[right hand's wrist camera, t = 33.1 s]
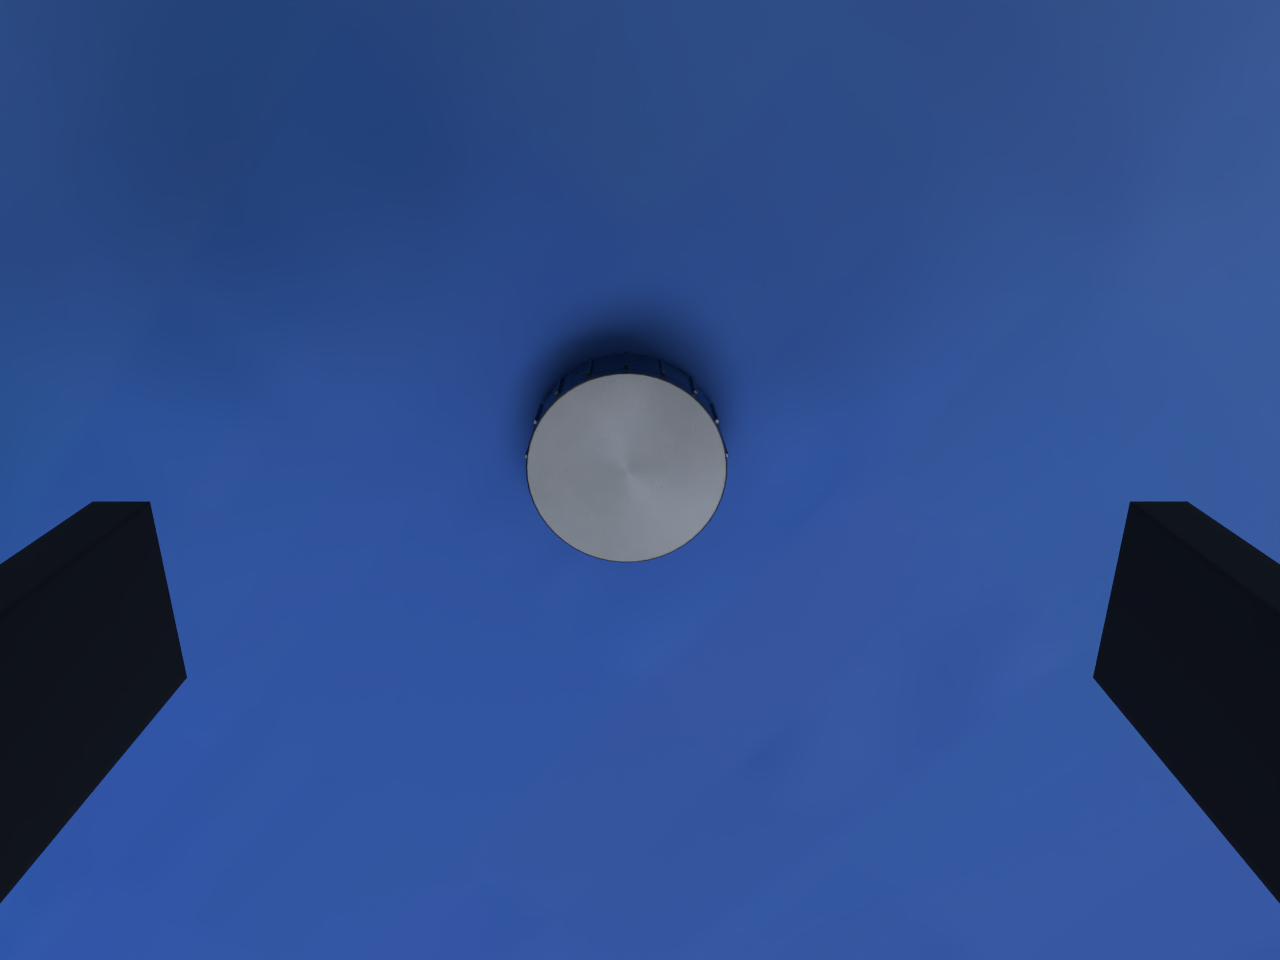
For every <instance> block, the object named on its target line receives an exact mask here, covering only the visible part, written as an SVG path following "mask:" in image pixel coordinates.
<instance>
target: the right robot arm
mask: <svg viewBox="0 0 1280 960" xmlns="http://www.w3.org/2000/svg"><path fill="white" fill-rule="evenodd" d="M186 678H187V676H186V671H185V666H184V661H183V657H182V652H181V647H180V642H179V638H178V633H177V628H176V623H175V619H174V614H173V609H172V604H171V600H170V595H169V590H168V585H167V581H166V576H165V571H164V566H163V562H162V557H161V552H160V547H159V543H158V538H157V533H156V528H155V524H154V519H153V514H152V509H151V505H150V502H91V503H90V504H88V505H87V506H85V507H84V508H83V509H81V510H80V511H78V512H77V513H75V514H74V515H72V516H71V517H69V518H68V519H66V520H65V521H63V522H62V523H60V524H59V525H58V526H56V527H55V528H53V529H52V530H50V531H49V532H47V533H46V534H44V535H43V536H41V537H40V538H38V539H37V540H35V541H34V542H33V543H31V544H30V545H28V546H27V547H25V548H24V549H22V550H21V551H19V552H18V553H16V554H15V555H13V556H12V557H10V558H9V559H8V560H6V561H5V562H3V563H2V564H0V903H1V902H2V901H3V899H4V898H5V897H6V896H7V895H8V893H9V892H10V891H11V890H12V889H13V887H14V886H15V885H16V884H17V882H18V881H19V880H20V879H21V878H22V876H23V875H24V874H25V873H26V872H27V870H28V869H29V868H30V867H31V866H32V864H33V863H34V862H35V861H36V859H37V858H38V857H39V856H40V855H41V853H42V852H43V851H44V850H45V849H46V847H47V846H48V845H49V844H50V843H51V841H52V840H53V839H54V838H55V837H56V835H57V834H58V833H59V832H60V830H61V829H62V828H63V827H64V826H65V824H66V823H67V822H68V821H69V820H70V818H71V817H72V816H73V815H74V814H75V812H76V811H77V810H78V809H79V807H80V806H81V805H82V804H83V803H84V801H85V800H86V799H87V798H88V797H89V795H90V794H91V793H92V792H93V791H94V789H95V788H96V787H97V786H98V785H99V783H100V782H101V781H102V780H103V778H104V777H105V776H106V775H107V774H108V772H109V771H110V770H111V769H112V768H113V766H114V765H115V764H116V763H117V762H118V760H119V759H120V758H121V757H122V755H123V754H124V753H125V752H126V751H127V749H128V748H129V747H130V746H131V745H132V743H133V742H134V741H135V740H136V739H137V737H138V736H139V735H140V734H141V732H142V731H143V730H144V729H145V728H146V726H147V725H148V724H149V723H150V722H151V720H152V719H153V718H154V717H155V716H156V714H157V713H158V712H159V711H160V710H161V708H162V707H163V706H164V705H165V703H166V702H167V701H168V700H169V699H170V697H171V696H172V695H173V694H174V693H175V691H176V690H177V689H178V688H179V687H180V685H181V684H182V683H183V682H184V680H185V679H186ZM1093 678H1094V679H1095V680H1096V682H1097V683H1098V684H1099V685H1100V687H1101V688H1102V689H1103V690H1104V691H1105V693H1106V694H1107V695H1108V696H1109V697H1110V699H1111V700H1112V701H1113V702H1114V703H1115V705H1116V706H1117V707H1118V708H1119V710H1120V711H1121V712H1122V713H1123V714H1124V716H1125V717H1126V718H1127V719H1128V720H1129V722H1130V723H1131V724H1132V725H1133V726H1134V728H1135V729H1136V730H1137V731H1138V732H1139V734H1140V735H1141V736H1142V737H1143V739H1144V740H1145V741H1146V742H1147V743H1148V745H1149V746H1150V747H1151V748H1152V749H1153V751H1154V752H1155V753H1156V754H1157V755H1158V757H1159V758H1160V759H1161V760H1162V762H1163V763H1164V764H1165V765H1166V766H1167V768H1168V769H1169V770H1170V771H1171V772H1172V774H1173V775H1174V776H1175V777H1176V778H1177V780H1178V781H1179V782H1180V783H1181V785H1182V786H1183V787H1184V788H1185V789H1186V791H1187V792H1188V793H1189V794H1190V795H1191V797H1192V798H1193V799H1194V800H1195V801H1196V803H1197V804H1198V805H1199V806H1200V807H1201V809H1202V810H1203V811H1204V812H1205V814H1206V815H1207V816H1208V817H1209V818H1210V820H1211V821H1212V822H1213V823H1214V824H1215V826H1216V827H1217V828H1218V829H1219V830H1220V832H1221V833H1222V834H1223V835H1224V837H1225V838H1226V839H1227V840H1228V841H1229V843H1230V844H1231V845H1232V846H1233V847H1234V849H1235V850H1236V851H1237V852H1238V853H1239V855H1240V856H1241V857H1242V858H1243V859H1244V861H1245V862H1246V863H1247V864H1248V866H1249V867H1250V868H1251V869H1252V870H1253V872H1254V873H1255V874H1256V875H1257V876H1258V878H1259V879H1260V880H1261V881H1262V882H1263V884H1264V885H1265V886H1266V887H1267V889H1268V890H1269V891H1270V892H1271V893H1272V895H1273V896H1274V897H1275V898H1276V899H1277V901H1278V902H1279V903H1280V564H1278V563H1277V562H1275V561H1274V560H1272V559H1271V558H1270V557H1268V556H1267V555H1265V554H1264V553H1262V552H1261V551H1259V550H1258V549H1256V548H1255V547H1253V546H1252V545H1250V544H1249V543H1247V542H1246V541H1245V540H1243V539H1242V538H1240V537H1239V536H1237V535H1236V534H1234V533H1233V532H1231V531H1230V530H1228V529H1227V528H1225V527H1224V526H1222V525H1221V524H1220V523H1218V522H1217V521H1215V520H1214V519H1212V518H1211V517H1209V516H1208V515H1206V514H1205V513H1203V512H1202V511H1200V510H1199V509H1197V508H1196V507H1195V506H1193V505H1192V504H1190V503H1189V502H1130V505H1129V509H1128V514H1127V519H1126V524H1125V528H1124V533H1123V538H1122V543H1121V547H1120V552H1119V557H1118V562H1117V566H1116V571H1115V576H1114V581H1113V585H1112V590H1111V595H1110V600H1109V604H1108V609H1107V614H1106V619H1105V623H1104V628H1103V633H1102V638H1101V642H1100V647H1099V652H1098V657H1097V661H1096V666H1095V671H1094V676H1093Z"/></svg>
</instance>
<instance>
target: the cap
mask: <svg viewBox="0 0 1280 960" xmlns="http://www.w3.org/2000/svg"><path fill="white" fill-rule="evenodd" d="M533 423H534V424H536V425H535V428H534V430H533V433H532V436H531V439H530V442H529V446H528V449H527V451H526V454H525V458H526V476H527V483H528V488H529V492H530V495H531V498H532V500H533V503H534V505H535V507H536V509H537V511H538V513H539V515H540V516H541V518H542V519H543V520H544V522H545V523H546V525H547V526H548V527H549V528H550V529H551V530H552V531H553V532H554V533H555V534H556V535H557V536H558V537H559V538H560V539H562V540H563V541H564V542H565V543H567V544H568V545H570V546H571V547H573V548H575V549H577V550H579V551H581V552H583V553H585V554H587V555H590V556H593V557H595V558H599V559H603V560H608V561H615V562H639V561H646V560H651V559H654V558H658V557H661V556H664V555H666V554H669V553H671V552H673V551H675V550H677V549H679V548H680V547H682V546H684V545H685V544H687V543H688V542H689V541H691V540H692V539H693V538H694V537H695V536H696V535H698V534H699V533H700V532H701V531H702V530H703V529H704V527H705V526H706V525H707V524H708V522H709V521H710V520H711V518H712V517H713V515H714V513H715V512H716V510H717V508H718V506H719V503H720V501H721V499H722V496H723V492H724V489H725V485H726V478H727V457H728V452H727V449H726V446H725V443H724V440H723V437H722V435H721V432H720V429H719V426H718V423H719V419H718V416H717V413H716V410H715V407H714V405H713V403H711V404H710V403H709V401H708V399H707V398H706V396H705V394H704V393H703V392H702V390H701V389H700V388H699V387H698V385H697V384H696V383H695V381H694V378H693V377H692V376H690V377H688V376H687V375H686V374H685V373H683V372H682V371H680V370H679V369H678V368H676V367H674V366H672V365H670V364H668V363H666V362H664V359H663V358H660V359H656V358H652V357H648V356H644V355H635V354H628V352H624V354H617V355H611V356H605V357H602V358H598V359H595V360H593V358H591V359H589V362H588V363H585V364H583V365H581V366H580V367H578V368H576V369H575V370H573V371H571V372H570V373H569V374H568V375H567V376H565V377H564V378H563V377H562V376H561V377H560V378H559V381H558V384H557V385H556V386H555V387H554V388H553V390H552V391H551V393H550V394H549V395H548V397H547V399H546V400H545V402H544V404H543V405H542V404H540V406H539V409H538V411H537V414H536V417H535V420H534V422H533Z"/></svg>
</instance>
